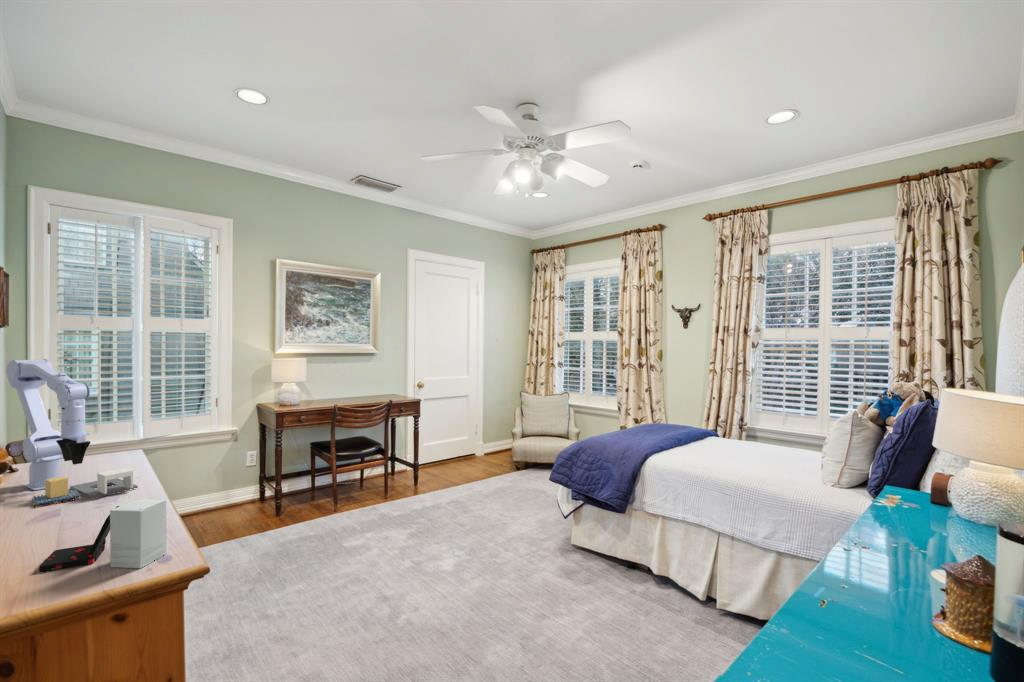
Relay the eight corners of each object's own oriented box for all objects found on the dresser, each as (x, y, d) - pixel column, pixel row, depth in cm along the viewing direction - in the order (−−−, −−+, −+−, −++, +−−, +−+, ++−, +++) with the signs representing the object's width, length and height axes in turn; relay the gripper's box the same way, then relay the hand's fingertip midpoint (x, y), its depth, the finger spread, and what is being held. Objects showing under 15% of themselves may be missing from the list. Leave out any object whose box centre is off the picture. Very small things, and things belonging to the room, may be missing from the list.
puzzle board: (70, 489, 156) (70, 486, 156) (115, 480, 166) (115, 477, 166) (91, 499, 146) (91, 495, 146) (137, 488, 157) (137, 485, 157)
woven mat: (76, 494, 153) (76, 487, 153) (81, 501, 146) (81, 495, 146) (30, 502, 145) (30, 495, 145) (33, 510, 138) (33, 503, 138)
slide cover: (97, 490, 150) (97, 473, 150) (124, 484, 156) (125, 467, 156) (104, 494, 147) (104, 476, 147) (132, 487, 153) (132, 470, 153)
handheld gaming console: (55, 555, 108) (55, 512, 108) (122, 545, 114) (122, 504, 114) (37, 574, 100) (38, 526, 100) (111, 561, 106) (111, 517, 106)
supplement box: (168, 554, 109) (168, 499, 109) (139, 569, 102) (139, 511, 102) (138, 552, 110) (138, 498, 110) (108, 567, 103) (108, 509, 103)
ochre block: (45, 496, 145) (45, 479, 145) (62, 492, 148) (62, 476, 148) (50, 498, 143) (50, 481, 143) (67, 494, 146) (68, 478, 146)
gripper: (97, 420, 154) (97, 462, 154) (81, 416, 161) (80, 456, 161) (68, 424, 148) (68, 467, 148) (53, 419, 155) (53, 461, 155)
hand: (73, 462), depth 154 cm, fingers open, 7 cm apart
